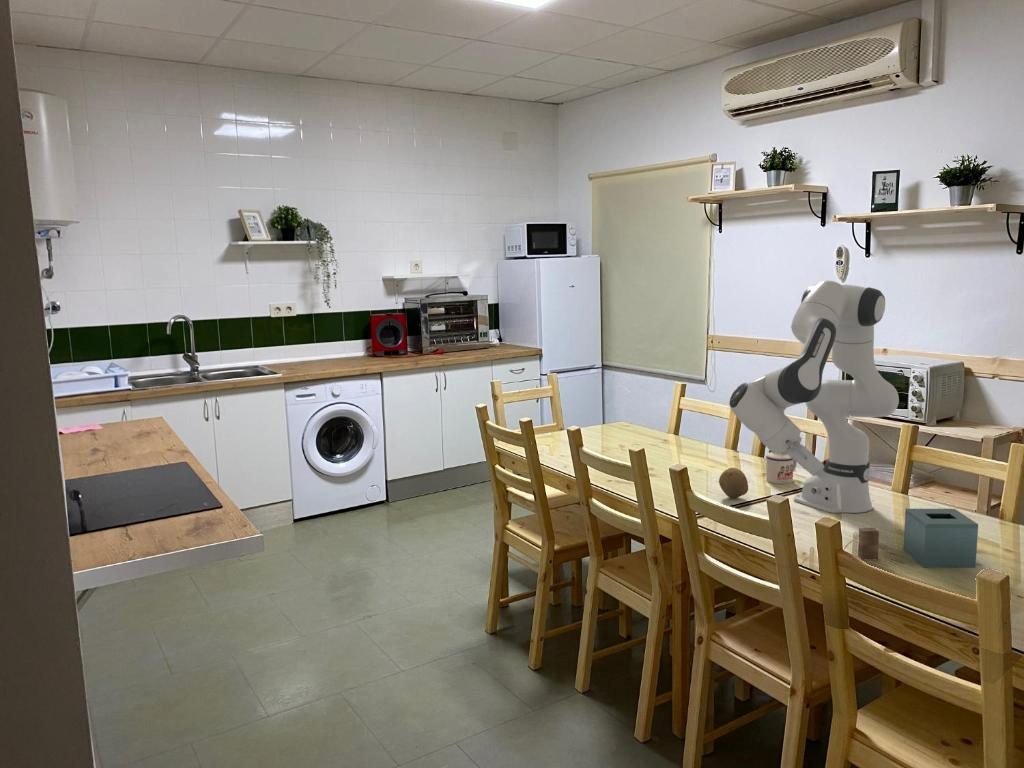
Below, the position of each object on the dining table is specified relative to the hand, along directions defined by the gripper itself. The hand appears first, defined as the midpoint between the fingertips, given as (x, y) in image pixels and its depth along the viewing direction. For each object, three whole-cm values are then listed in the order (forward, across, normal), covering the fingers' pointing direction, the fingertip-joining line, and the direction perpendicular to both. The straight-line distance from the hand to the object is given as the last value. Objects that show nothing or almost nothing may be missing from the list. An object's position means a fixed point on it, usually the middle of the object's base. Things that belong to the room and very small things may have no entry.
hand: (821, 475), depth 190 cm
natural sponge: (+7, +52, +23) cm, 57 cm away
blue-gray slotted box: (+36, 0, -6) cm, 36 cm away
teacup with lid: (+22, +72, +8) cm, 75 cm away
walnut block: (+24, 0, +7) cm, 25 cm away
